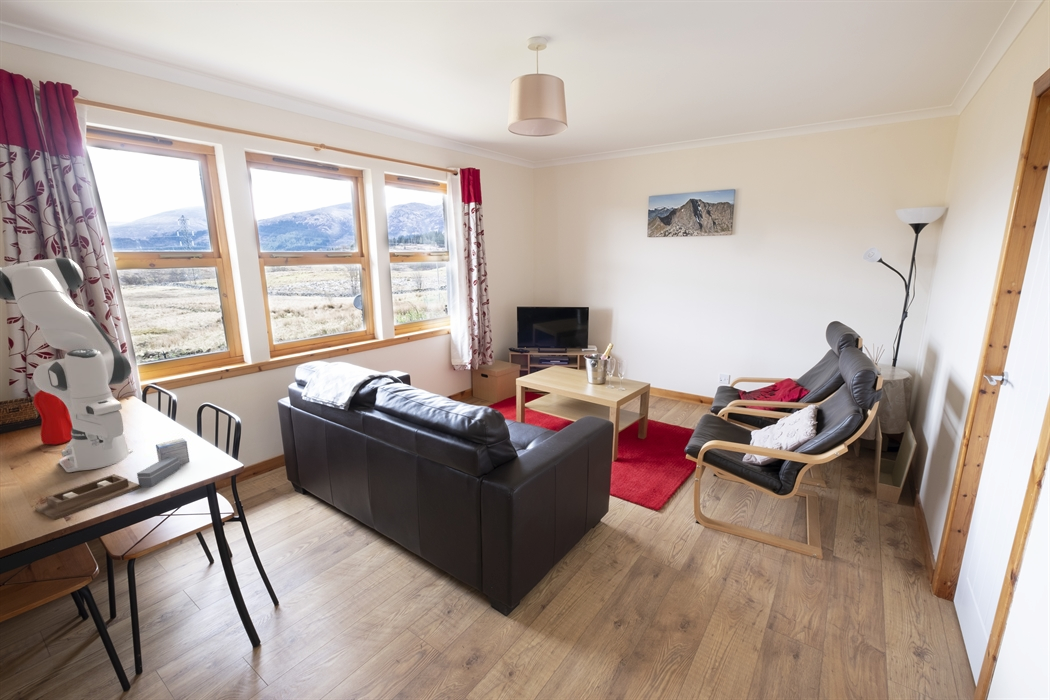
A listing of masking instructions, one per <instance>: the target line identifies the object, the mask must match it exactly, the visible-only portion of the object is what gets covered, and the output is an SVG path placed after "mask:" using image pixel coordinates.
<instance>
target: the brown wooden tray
mask: <svg viewBox="0 0 1050 700" xmlns="http://www.w3.org/2000/svg"><path fill="white" fill-rule="evenodd" d="M140 488H141V487H140V485H139V483H136V482H133V481H131V480H128V478H126V477H124V476H121V475H118V474H115V473H114V474H110V475H107V476H104V477H102V478H98V479H95V480H92V481H90V482H87V483H84V484H81V485H78V486H74V487H73V488H70V489H67V490H66V489H65V490H63V491H60V492H57V493H54V494H51V495H49V496H45V500H46V502H45V503H43V504H39V505H37V506H34V508H35V511H37V512H39V513H41V514H43V515H45V516H47V517H49V518H51V519H53V520H57V519H61V518H63V517H66V516H69V515H70V514H71V515H72V514H73V513H76V512H79V511H83V510H84V509H88V508H90V507H93V506H96V505H98V504H100V503H103V502H105V501H109V500H111V499H115V498H117V497H120V496H122V495H125V494H127V493H130V492H132V491H135V490H138V489H140Z"/></svg>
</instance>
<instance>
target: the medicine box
mask: <svg viewBox="0 0 1050 700" xmlns="http://www.w3.org/2000/svg"><path fill="white" fill-rule="evenodd" d="M155 448H156V454H157V459H158V461H157V462H159V461H161V460H162V459H164V458H166V457H178V460H179V466H180V465H183V464H186V463H189V462H190V455H189V448H188V441H187V440H186V439H184V438H177V439H174V440H169V441H165V442H161V443H157V444H156V445H155Z"/></svg>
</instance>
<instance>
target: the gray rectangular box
mask: <svg viewBox="0 0 1050 700" xmlns="http://www.w3.org/2000/svg"><path fill="white" fill-rule="evenodd" d="M180 469H181V468H180V465H179V460H178V457H166V458H164V459H162V460H161V461H157V462H155V463H153V464H151V465H150V466H148V467H146V468H144V469H143V470H141V471H139V472H136V475H137V481H138V484H139V485H140V488H153V487H154V486H156V485H157V484H159V483H160V482H162V481H163V480H165V479H167V478H168V477H169V476H171V475H173V474H174V473H175V472H177V471H179V470H180Z"/></svg>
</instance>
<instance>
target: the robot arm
mask: <svg viewBox="0 0 1050 700" xmlns="http://www.w3.org/2000/svg"><path fill="white" fill-rule="evenodd" d="M83 283H84V272H83V270H82V268H81V267H80V266H79V265H78V264H77V263H76V262H75V261H74V260H72V259H71V258H68V257H55V258H52V259H51V258H49V259H47V258H46V259H36V260H30V261H28V262H27V261H25V262H21V263H16V264H11V265H8V266H4V267H1V266H0V299H1V300H4V301H15V302H16V304H17V306H18V309H19V311H20V313H21V315H23V317H24V319H26V320H27V321H28V322H29V323H31V324H33V325H34V326H35V325H36V326H37V327H38V328H39V330H40V333H41V334H42V335H41V336H42V337H43V338H44V341H45V342H46V344H47V345H49V346H50V347H52V348H53V349H56V350H60V351H61V350H63V351H65V352H66V353H65V354H64V358H58V359H54V360H51V361H47V362H45V363H43V364H40V365H38V366H36V368H35V369H34V371H33V373H32V374H33V375H32V380H33V383H34V385H35V386H36V387H37V389H39V390H42V391H44V392H47V393H50V394H53V395H55V396H56V397H58V398H59V399H61V400H62V401H63V402H64V404H65V405H66V407H67V409H68V411H69V414H70V418H71V422H72V426H73V427H72V430H71V437H72V439H71V441H68V442H67V444H66V445H65V449H62V450H61V455H62V458H60V459H58V463H59V465H60V466H61V467H62V468H63V469H64V470H65V472H66V473H72V472H79V471H89V470H95V469H101V468H105V467H108V466H112V465H115V464H119V463H120V462H122V461H123V460H126V458H127V457H129V455H131V454H132V453H134V449H132V448H129V446H128V443H127V438H126V436H125V433H124V423H123V422H124V421H123V416H122V413H121V410H122V409H123V405H122V403H121V401H118V399H116V398H115V397H114V396H113V394H112V393H113V392H112V389H111V388H110V385H119V384H122V383H124V382H125V381H126V380H127V379H128V378H129V376H130V375H131V374H132V365H131V364H130V362H129V359H128V358H127V357H126V356H125V355H124V353H122V352H121V351H120V350H119V349H118V348H117V347H116V345H115V343H114V342H113V341H112V339H111V338H110V337H109V336H108V334H107V333H106V331H105V330H104V328H103V327H102V326H101V325H100V323H99V322H98V321H97V320H96V319H95V317H94V316H93V314H91V312H89V311H86V310H82V309H81V308H79V307H77V305H76V303H75V302H74V300H73V299H72V298H71V296H70V295H69V293H68V292H69V290H70V291H71V292H72V294H73V295H74V294H76V293H77V292H76V291H77V290H78V289H80V288H81V287H82V285H83Z"/></svg>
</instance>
